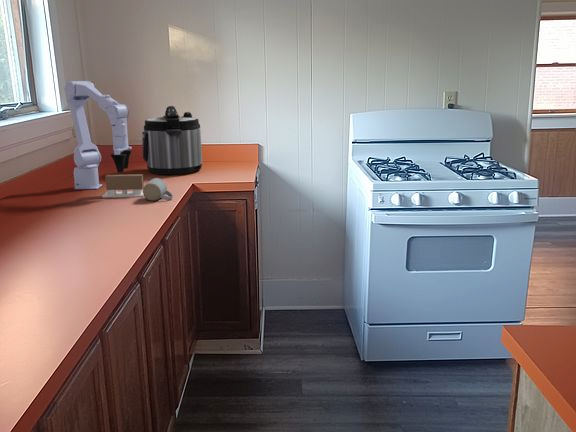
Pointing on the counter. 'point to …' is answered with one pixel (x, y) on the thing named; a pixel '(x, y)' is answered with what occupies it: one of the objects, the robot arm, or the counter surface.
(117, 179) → the frame bar
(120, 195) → the display stand
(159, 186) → the ceramic mug
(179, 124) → the pressure cooker
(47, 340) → the counter surface
